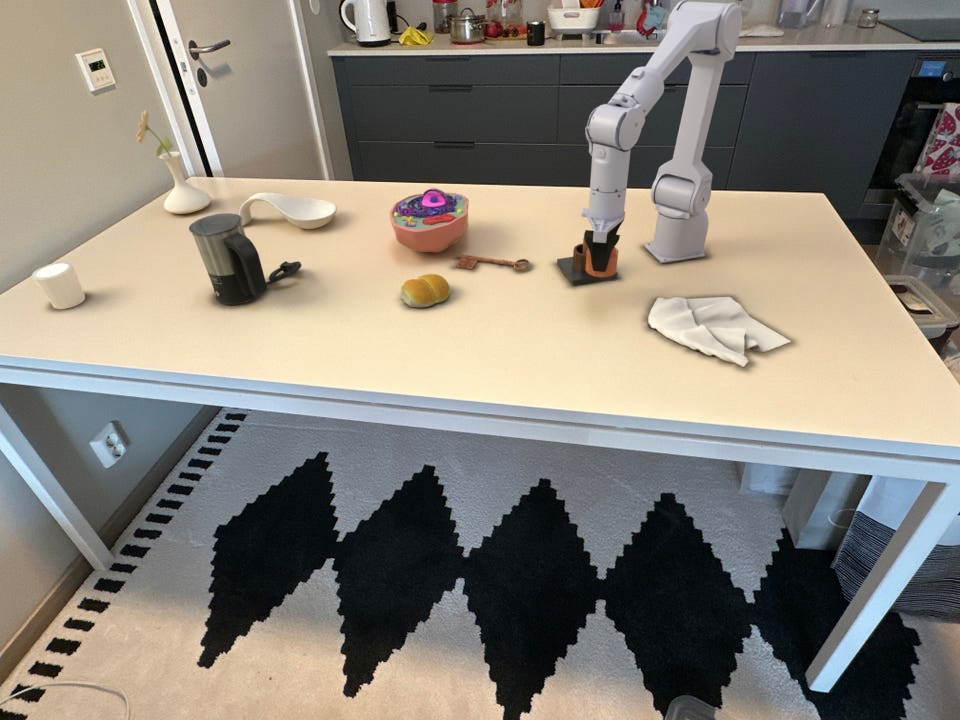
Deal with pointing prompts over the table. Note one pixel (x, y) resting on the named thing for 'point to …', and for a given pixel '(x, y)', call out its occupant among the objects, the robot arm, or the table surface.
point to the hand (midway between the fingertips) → (601, 262)
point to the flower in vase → (176, 177)
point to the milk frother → (233, 259)
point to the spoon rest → (293, 209)
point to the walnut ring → (579, 258)
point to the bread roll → (425, 290)
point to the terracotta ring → (610, 268)
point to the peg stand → (577, 276)
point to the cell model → (430, 220)
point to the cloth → (713, 327)
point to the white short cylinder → (59, 284)
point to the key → (472, 261)
